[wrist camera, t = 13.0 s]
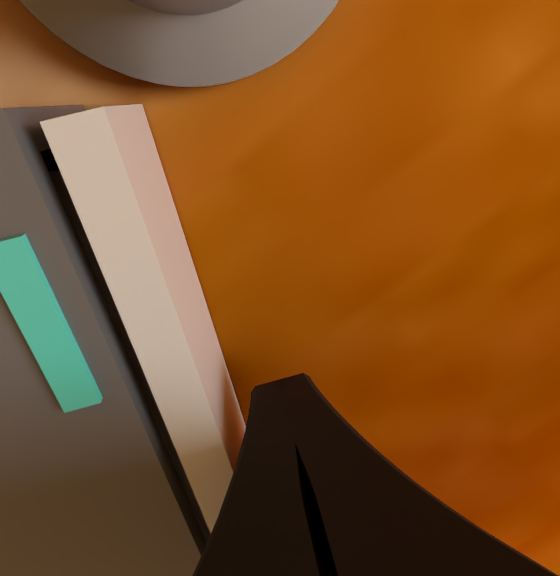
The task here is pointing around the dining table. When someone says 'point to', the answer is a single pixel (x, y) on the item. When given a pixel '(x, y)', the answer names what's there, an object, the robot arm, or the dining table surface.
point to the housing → (72, 399)
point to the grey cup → (183, 35)
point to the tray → (150, 292)
